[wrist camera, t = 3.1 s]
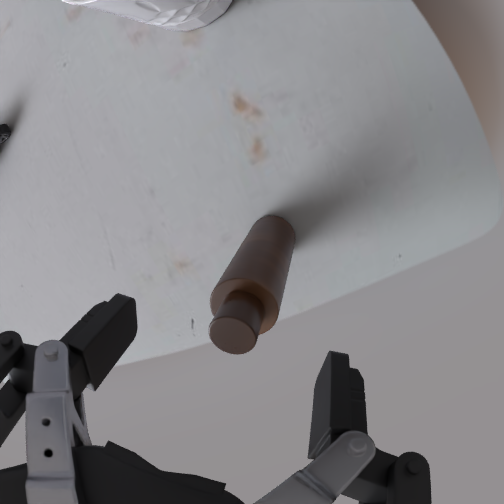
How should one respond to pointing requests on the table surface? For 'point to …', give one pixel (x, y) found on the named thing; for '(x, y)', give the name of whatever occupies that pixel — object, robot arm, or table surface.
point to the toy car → (4, 132)
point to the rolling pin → (252, 286)
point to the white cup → (162, 11)
